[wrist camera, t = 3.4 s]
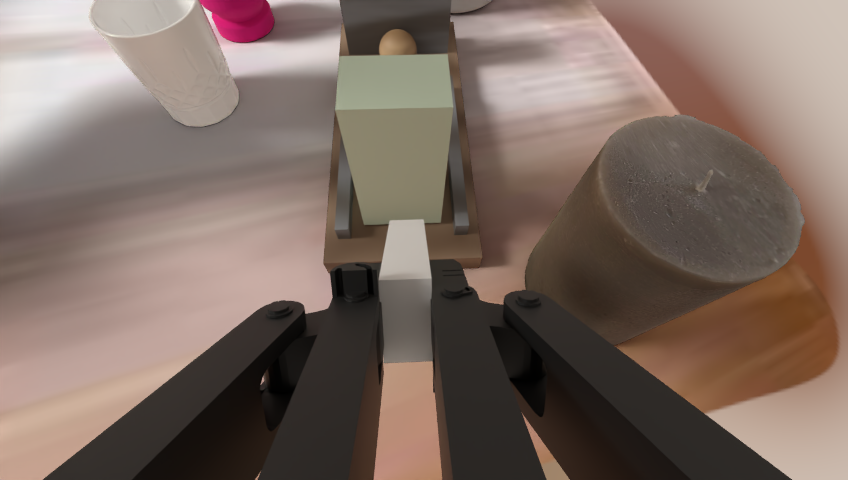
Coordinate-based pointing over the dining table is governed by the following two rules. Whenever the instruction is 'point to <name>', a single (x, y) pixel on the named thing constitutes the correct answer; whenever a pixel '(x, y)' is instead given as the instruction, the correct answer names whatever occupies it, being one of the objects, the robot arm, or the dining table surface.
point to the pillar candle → (664, 227)
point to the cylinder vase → (467, 5)
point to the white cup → (170, 55)
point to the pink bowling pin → (241, 18)
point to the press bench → (458, 231)
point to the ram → (396, 133)
